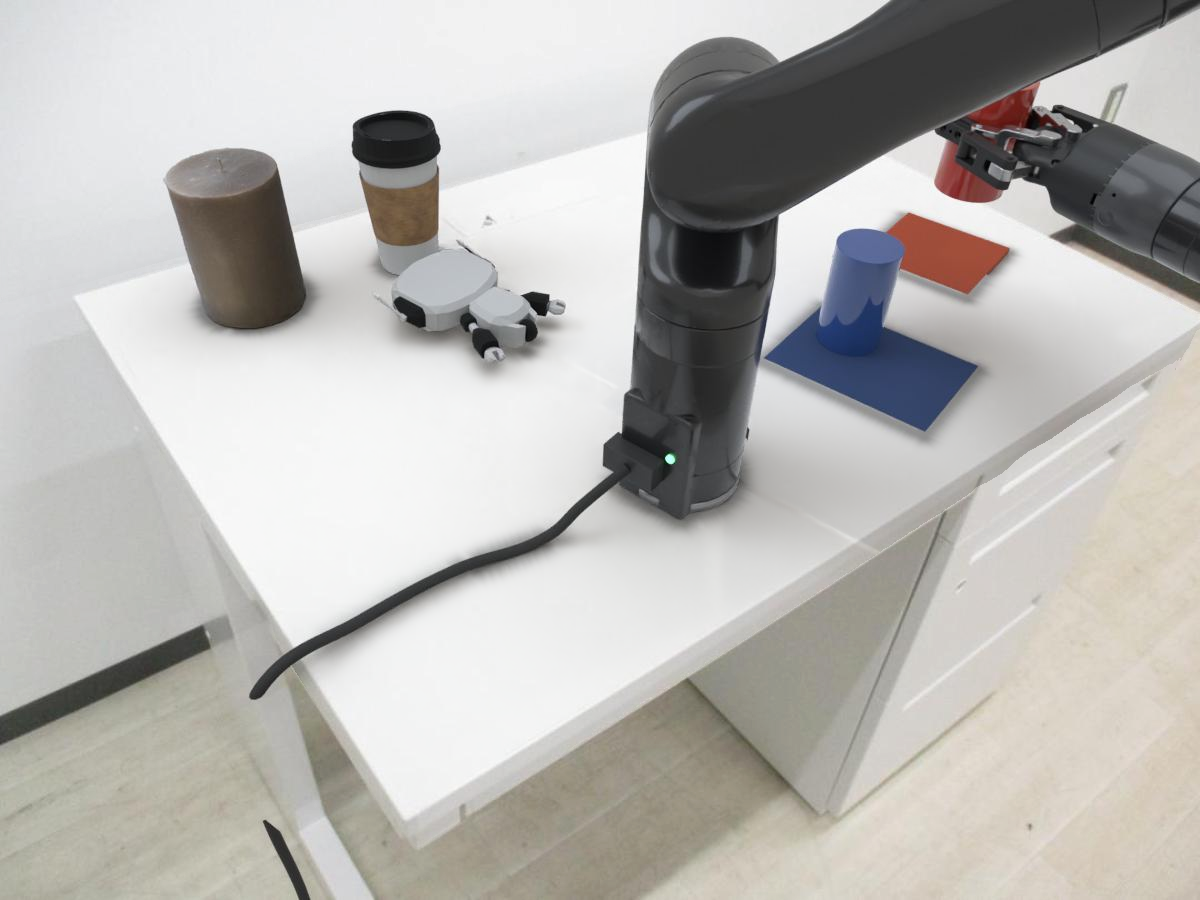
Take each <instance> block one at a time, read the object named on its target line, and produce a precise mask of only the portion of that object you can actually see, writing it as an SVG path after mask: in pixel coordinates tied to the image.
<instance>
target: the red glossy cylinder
mask: <svg viewBox="0 0 1200 900" xmlns="http://www.w3.org/2000/svg"><path fill="white" fill-rule="evenodd" d="M1040 86H1041V81H1040V82H1037V83H1035V84H1033V85H1031V86H1029V87H1027V88H1025V89H1022V90H1020V91H1018V92H1016V93H1014V94H1012V95H1010V96H1007V97H1005V98H1003V99H1001V100H999V101H997V102H995V103H992V104H990V105H988V106H986V107H984V108H982V109H980V110H978V111H975V112H973V113H971V114H969V115H967V117H969V118H971V119H973V120H976V121H978V122H979V123H981V124H984V125H988V126H992V127H996V128H1003V127H1004V126H1005V125H1014V126H1018V127H1022V128H1025V127H1026V124H1027V121H1028V118H1029V115H1030V112H1031V110H1032V107H1034V104H1035V100H1036V98H1037V95H1038V92H1039V89H1040ZM984 138H986V139H987V140H989V141H991V142H992V143H994V144H996V140H995V139H993V138H989V137H985V136H984ZM1015 141H1016V139H1015V138H1010V139H1009V142H1008V145H1007V148H1006V151H1008V150H1010V151H1012V149H1013V146H1014V143H1015ZM958 146H959V145H957V144H955V143H953V142H951V141H949V140H947V139H945V141H944V145H943V148H942V151H941V156H940V159H939V162H938V166H937V170H936V172H935V176H934V179H933V183H934V187H935V188H936V189H937V190H938V192H940V193H941V194H942V195H945V196H947V197H949V198H951V199H954V200H956V201H961V202H965V203H973V204H985V203H986V204H987V203H993V202H995V201H997V200H999V199H1000V198H1001V197H1002V196H1003V194H1004V191H1005V190H998V189H996V188H994V187H992V186H991V185H989V184H988V183H986V182H985V181H983V180H982V179H980V178H979V177H977V176H975V175H974V174H972V173H971V172H969V171H968V170H966V169H965V168H963V167H962V166H960V165H959V164H957V163H955V162H954V158H955V155H956V153H957V150H958ZM974 159H975V158H974Z"/></svg>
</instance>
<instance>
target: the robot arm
mask: <svg viewBox="0 0 1200 900" xmlns="http://www.w3.org/2000/svg"><path fill="white" fill-rule="evenodd" d="M1199 10H1200V0H889V1H887V2H886V3H885V4H883V5H882V6H881V7H879V8H878V9H877V10H875V11H874V12H873V13H871V14H870V15H868V16H866V17H865V18H864V19H862V20H860V21H858V22H857V23H856V24H854V25H852V26H851V27H850V28H847V29H846V30H843V31H842V32H840V33H838V34H835V35H834V36H832V37H831V38H828V39H827V40H824V41H822V42H820V43H818V44H816V45H813V46H812V47H809V48H806V49H805V50H803V51H801V52H799V53H796V54H794V55H792V56H790V57H788V58H786V59H783V60H780V61H779V59H778V58H777V57H776V56H775V55H774V54H773V52H771V51H769V50H768V49H767V48H765V47H763V46H762V45H760V44H758V43H756V42H755V41H751V40H749V39H746V38H741V37H735V36H719V37H717V36H716V37H712V38H707V39H705V40H702V41H699V42H697V43H694V44H692V45H691V46H688V47H687V48H685V49H684V50H683V51H681V52H680V53H679V54H678V55H676V56H675V57H674V58H673V59H672V60H671V61H670V63H669V64H668V65H666V67H665V69H664V70H663V72H662V73H661V75H660V76H659V78H658V79H657V82H656V84H655V86H654V89H653V91H652V94H651V98H650V101H649V108H648V118H647V119H648V120H647V131H646V132H647V134H646V146H645V147H646V148H645V149H646V150H645V163H644V165H645V166H644V179H643V180H644V181H643V197H642V207H641V221H640V232H639V248H638V264H637V265H638V266H637V285H636V300H635V315H634V316H635V317H634V325H633V327H634V328H633V341H632V357H631V372H630V385H629V386H630V387H629V389H628V391H626V392H625V393H624V395H623V405H622V421H621V422H622V423H621V432H619V431H617V432H616V433H615V434H614V435H612V436H611V437H610V438H609V439H607V440H606V441H605V442H604V443H603V447H602V448H603V449H602V467H604V468H606V469H607V470H609V471H610V472H612V473H610V474H609V475H608V476H606V477H605V478H604V479H603V480H602V481H600V482H599V483H597V485H596V486H594V487H593V488H592V489H590V490H589V491H588V492H587V493H586V494H584V496H582V497H581V498H580V499H578V500H577V501H576V503H574V504H573V505H572V506H571V507H570V508H569V509H567V511H566V512H565V513H564V514H563V516H561V517H560V518H559V520H557V522H556V523H554V524H553V525H552V526H550V527H549V528H548V529H546V530H544V531H543V532H541V533H539V534H538V535H535V536H533V537H532V538H529V539H526V540H524V541H521V542H519V543H516V544H513V545H510V546H507V547H503V548H500V549H497V550H492V551H489V552H485V553H482V554H479V555H475V556H473V557H469V558H467V559H463V560H461V561H459V562H456V563H454V564H452V565H450V566H447V567H444V568H443V569H440V570H439V571H436V572H434V573H431V574H430V575H427V576H426V577H424V578H421V579H420V580H418V581H416V582H413V583H412V584H410V585H409V586H406V587H405V588H403V589H400V590H399V591H398V592H396V593H394V594H392V595H390V596H388V597H387V598H384V599H383V600H381V601H380V602H378V603H376V604H375V605H373V606H371V607H369V608H367V609H366V610H364V611H362V612H361V613H359V614H357V615H356V616H354V617H352V618H349V619H347V620H346V621H344V622H342V623H339V624H338V625H336V626H334V627H332V628H330V629H328V630H326V631H323V632H321V633H320V634H317V635H315V636H313V637H311V638H309V639H307V640H305V641H303V642H302V643H300V644H298V645H297V646H295V647H292V649H290V650H289V651H287V652H285V653H284V654H283V655H282V656H280V657H279V658H278V659H277V660H276V661H274V662H273V663H272V664H271V665H270V666H269V667H268V668H267V669H266V670H265V671H264V673H262V674H261V676H260V677H259V678H258V680H257V681H256V682H255V684H254V685H253V686H252V688H251V690H250V691H249V695H248V698H249V699H250V700H251V701H257V700H259V699H261V698H263V697H264V695H265V694H266V693H267V691H268V690H269V689H270V687H271V686H272V685H273V684H274V682H275V681H276V680H277V679H278V678H279V677H280V676H281V675H282V674H283V673H284V672H285V671H287V670H288V669H289V668H290V667H291V666H293V665H294V664H296V663H297V662H298V661H300V660H302V659H303V658H305V657H306V656H308V655H310V654H312V653H314V652H316V651H317V650H319V649H321V648H324V647H326V646H327V645H330V644H332V643H334V642H336V641H338V640H340V639H342V638H344V637H347V636H348V635H350V634H352V633H354V632H356V631H358V630H359V629H361V628H362V627H364V626H366V625H368V624H370V623H371V622H373V621H375V620H376V619H378V618H380V617H381V616H383V615H386V613H389V612H390V611H392V610H393V609H396V608H398V607H399V606H401V605H402V604H404V603H406V602H408V601H410V600H411V599H413V598H415V597H418V595H419V596H420V595H421V594H423V593H424V592H426V591H428V590H430V589H432V588H435V587H436V586H438V585H441V584H443V583H445V582H447V581H450V580H452V579H453V578H455V577H457V576H460V575H463V574H465V573H467V572H470V571H473V570H476V569H479V568H481V567H485V566H488V565H491V564H495V563H500V562H502V561H506V560H510V559H513V558H516V557H519V556H522V555H524V554H527V553H530V552H533V551H535V550H537V549H538V548H541V547H543V546H544V545H546V544H548V543H550V542H551V541H553V540H555V539H556V538H558V537H559V536H560V535H561V534H563V533H564V532H565V531H566V530H567V529H568V528H569V527H570V526H571V525H572V524H573V523H574V521H576V520H577V518H578V517H579V516H581V515H582V513H583V512H585V511H586V510H587V509H588V508H589V507H590V506H592V505H593V504H594V503H595V502H596V501H598V500H599V499H600V498H601V497H603V496H604V495H605V494H606V493H608V492H609V491H610V490H611V489H613V488H614V487H615V486H616V485H617V484H618V485H619V486H620V487H622V488H624V489H625V490H627V491H629V492H631V493H632V494H634V495H636V496H637V497H639V498H641V499H642V500H644V501H645V502H647V503H648V504H651V505H653V506H655V507H657V508H658V509H660V510H662V511H664V512H666V513H667V514H669V515H671V516H672V517H674V518H676V519H679V520H682V519H684V518H685V517H686V516H687V515H688V514H690V513H694V512H695V513H696V512H703V511H706V510H710V509H713V508H716V507H717V506H720V505H721V504H723V503H725V502H726V501H727V500H729V499H730V498H731V497H732V496H733V494H735V492H736V490H737V489H738V486H739V483H740V479H741V473H742V466H741V465H742V460H743V454H744V449H745V443H746V441H748V440H749V435H750V428H749V422H750V416H751V410H752V405H753V399H754V394H755V389H756V383H757V379H758V373H759V367H760V361H761V355H762V349H763V344H764V339H765V334H766V329H767V324H768V318H769V312H770V306H771V301H772V296H773V291H774V285H775V281H776V280H775V279H776V272H777V253H778V250H777V249H778V235H779V234H778V231H779V219H780V215H782V214H783V213H785V212H787V211H789V210H791V209H792V208H794V207H796V206H797V205H800V204H801V203H803V202H805V201H807V200H808V199H810V198H811V197H814V196H815V195H817V194H818V193H820V192H821V191H823V190H825V189H827V188H829V187H830V186H833V185H834V184H836V183H837V182H840V180H843V179H844V178H846V177H848V176H849V175H852V174H853V173H855V172H856V171H858V170H860V169H861V168H864V167H866V165H867V166H868V164H870V163H872V162H874V161H875V160H876V161H877V160H878V159H879V158H881V157H883V156H885V155H886V154H888V153H890V152H892V151H893V150H896V149H897V148H899V147H901V146H903V145H906V144H907V143H910V142H911V141H913V140H915V139H917V138H919V137H921V136H924V135H926V134H927V133H930V132H932V131H934V133H935V134H936V135H937V136H939V137H941V138H943V139H945V140H946V139H947V140H949V141H951V142H953V143H955V144H957V145H959V146H958V150H957V153H956V155H955V158H954V162H955V163H957V164H959V165H960V166H962V167H963V168H965V169H966V170H968V171H969V172H971V173H972V174H974V175H975V176H977V177H979V178H980V179H982V180H983V181H985V182H986V183H988V184H989V185H991V186H992V187H994V188H996V189H998V190H1004V191H1008V190H1009V188H1010V185H1011V182H1012V181H1013V180H1017V179H1022V180H1023V181H1025V182H1027V183H1030V184H1035V185H1038V186H1041V187H1045V188H1046V190H1047V193H1048V196H1049V202H1050V203H1049V204H1050V206H1051V208H1052V209H1053V211H1054V212H1055V213H1056V214H1058V215H1060V216H1062V217H1064V218H1066V219H1067V220H1070V221H1071V222H1073V223H1075V224H1077V225H1079V226H1081V227H1083V228H1085V229H1086V230H1089V232H1093V233H1094V234H1095V235H1098V236H1100V237H1102V238H1104V239H1105V240H1107V241H1110V242H1111V243H1113V244H1115V245H1117V246H1119V247H1120V248H1122V249H1125V250H1128V252H1132V253H1134V254H1137V255H1141V256H1143V257H1146V258H1149V259H1152V260H1153V261H1156V262H1157V263H1159V264H1161V265H1163V267H1167V268H1168V269H1170V270H1172V271H1174V272H1176V273H1178V274H1180V275H1182V276H1183V277H1186V278H1187V279H1190V280H1191V281H1194V282H1195V283H1198V284H1200V162H1199V161H1198V160H1196V159H1195V158H1193V157H1191V156H1189V155H1187V154H1185V153H1183V152H1181V151H1178V150H1176V149H1173V148H1171V147H1168V146H1166V145H1164V144H1161V143H1159V142H1157V141H1155V140H1153V139H1150V138H1148V137H1145V136H1143V135H1141V134H1139V133H1136V132H1134V131H1132V130H1129V129H1128V128H1125V127H1123V126H1120V125H1118V124H1116V123H1111V122H1109V121H1106V120H1104V119H1102V118H1098V117H1096V116H1093V115H1090V114H1088V113H1085V112H1082V111H1079V110H1077V109H1074V108H1072V107H1068V106H1065V105H1063V104H1054V105H1052V108H1051V110H1049V109H1048V108H1047V107H1045V106H1043V105H1033V107H1032V110H1031V112H1030V115H1029V118H1028V121H1027V124H1026V127H1025V128H1022V127H1018V126H1014V125H1005V126H1004V127H1003V128H996V127H992V126H988V125H984V124H981V123H979V122H978V121H976V120H973V119H971V118H969V117H967V115H969V114H971V113H973V112H975V111H978V110H980V109H982V108H984V107H986V106H988V105H990V104H992V103H995V102H997V101H999V100H1001V99H1003V98H1005V97H1007V96H1010V95H1012V94H1014V93H1016V92H1018V91H1020V90H1022V89H1025V88H1027V87H1029V86H1031V85H1033V84H1035V83H1037V82H1040V83H1041V82H1042V81H1044V80H1046V79H1049V78H1051V77H1053V76H1055V75H1059V74H1060V73H1063V72H1065V71H1068V70H1070V69H1073V68H1075V67H1077V66H1080V65H1082V64H1085V63H1088V62H1090V61H1093V60H1095V59H1096V58H1099V57H1102V56H1103V55H1106V54H1108V53H1111V52H1112V51H1115V50H1117V49H1119V48H1121V47H1124V46H1125V45H1128V44H1130V43H1132V42H1134V41H1137V40H1138V39H1141V38H1143V37H1145V36H1148V35H1150V34H1152V33H1155V32H1156V31H1158V30H1160V29H1162V28H1165V27H1166V26H1169V25H1171V24H1173V23H1175V22H1176V21H1178V20H1180V19H1182V18H1184V17H1186V16H1188V15H1190V14H1193V13H1194V12H1196V11H1199ZM1071 122H1072V123H1073V124H1072V123H1071ZM984 136H985V137H989V138H993V139H995V140H996V144H994V143H992V142H991V141H989V140H987V139H986V138H984ZM1010 138H1015V139H1016V141H1015V143H1014V146H1013V149H1012V151H1010V150H1008V151H1006V148H1007V145H1008V142H1009V139H1010ZM974 158H975V159H974ZM262 823H263V826H264V829H265V831H266V833H267V835H268V837H269V839H270V841H271V844H272V845H273V848H274V850H275V852H276V854H277V856H278V858H279V859H280V861H281V863H282V865H283V867H284V869H285V871H286V873H287V876H288V877H289V880H290V882H291V884H292V886H293V888H294V891H295V893H296V895H297V899H298V900H311V896H310V894H309V891H308V888H307V886H306V884H305V881H304V879H303V877H302V876H303V875H302V874H301V872H300V869H299V867H298V865H297V863H296V861H295V859H294V857H293V855H292V853H291V851H290V849H289V847H288V845H287V843H286V840H285V838H284V837H283V834H282V832H281V830H279V829H278V828H276V827H275V826H274V825H273V824H272V823H271V822H269V821H268V820H267V819H263V820H262Z"/></svg>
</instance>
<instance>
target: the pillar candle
mask: <svg viewBox="0 0 1200 900" xmlns="http://www.w3.org/2000/svg"><path fill="white" fill-rule="evenodd" d="M162 181H163V183H164V184H165V185H166V189H167V191H168V195H169V199H170V202H171V205H172V208H173V212H174V214H175V217H176V218H175V219H176V221H177V224H178V228H179V232H180V236H181V237H182V241H183V246H184V249H185V252H186V256H187V260H188V263H189V265H190V268H191V271H192V274H193V277H194V280H195V285H196V287H197V291H198V292H199V296H200V298H201V299H200V300H201V302H202V303H201V304H202V306H203V309H204V312H205V314H206V316H208V318H209V319H210V320H211V321H213V322H215V323H216V324H219V325H222V326H223V327H229V328H239V329H259V328H265V327H268V326H271V325H272V326H273V325H276V324H278V323H280V322H282V321H285V320H287V319H288V318H290V317H291V316H293V315H294V314H296V313H297V312H299V310H301V309H302V307H303V306H304V303H305V300H306V299H307V292H306V286H305V282H304V277H303V272H302V268H301V267H302V266H301V264H300V259H299V255H298V250H297V247H296V246H297V245H296V241H295V236H294V232H293V229H292V224H291V220H290V215H289V210H288V207H287V202H286V199H285V194H284V193H285V192H284V188H283V184H282V180H281V174H280V171H279V166H278V163H277V162H276V160H275V158H273V157H272V156H271V155H269V154H267V153H265V152H264V151H259V150H255V149H252V148H251V149H250V148H243V147H223V148H215V149H214V148H213V149H208V150H207V151H205V150H204V151H203V152H200V153H197V154H193V155H190V156H189V157H188V156H187V157H185V158H183V159H181V160H180V161H178V162H177V163H176V164H174V165H172V166H171V167H170V168H169V169H168V171H166V173H165V176H164V177H162Z"/></svg>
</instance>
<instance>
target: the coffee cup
mask: <svg viewBox="0 0 1200 900" xmlns="http://www.w3.org/2000/svg"><path fill="white" fill-rule="evenodd" d="M441 150H442V145H441V139H440V137H439V134H438V133H437V130H436V125H435V122H434V120H433V119H432V118H431V117H430V116H428V115H426V114H424V113H422V112H417V111H412V110H405V109H404V110H401V109H400V110H399V109H397V110H396V109H395V110H386V111H380V112H375V113H372V114H368V115H365V116H363V117H361V118H359V119H357V120H355V122H353V124H352V141H351V154H352V156H353V158H354V159H355V160H357V162H358V166H359V170H358V175H359V179H360V183H361V188H362V191H363V195H364V199H365V203H366V207H367V211H368V215H369V218H370V223H371V226H372V230H373V231H372V232H373V234H374V237H375V241H376V245H377V249H378V250H377V251H378V255H379V258H380V262H381V265H382V267H383V269H384V270H385V271H387V272H389V273H390V274H393V275H395V276H396V275H397V276H399V275H400V274H401V273H402V272H403V271H405V270H406V269H407V268H408V267H409V266H410V265H412V264H413V263H415V262H416V261H418V260H420V259H423V258H425V257H427V256H429V255H431V254H434V253H437V252H439V227H440V226H439V222H440V221H439V220H440V219H439V217H440V216H439V214H440V212H439V211H440V166H439V164H438V155H440V152H441Z"/></svg>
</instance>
